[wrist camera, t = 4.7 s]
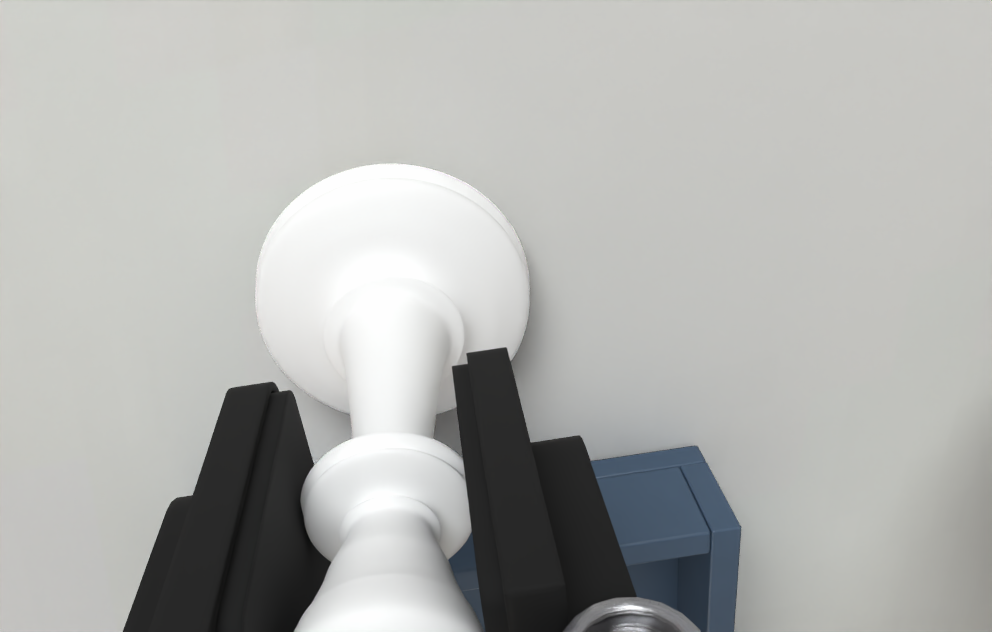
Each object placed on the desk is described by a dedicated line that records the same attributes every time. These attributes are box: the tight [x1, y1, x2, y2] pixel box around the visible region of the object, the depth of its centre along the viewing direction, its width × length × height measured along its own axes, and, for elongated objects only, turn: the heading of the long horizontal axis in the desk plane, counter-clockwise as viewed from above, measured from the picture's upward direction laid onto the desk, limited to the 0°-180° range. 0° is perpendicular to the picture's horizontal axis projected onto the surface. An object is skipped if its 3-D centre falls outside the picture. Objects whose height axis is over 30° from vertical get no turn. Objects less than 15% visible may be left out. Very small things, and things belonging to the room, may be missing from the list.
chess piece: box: [255, 164, 530, 632], centre depth 10 cm, size 5×5×10 cm
